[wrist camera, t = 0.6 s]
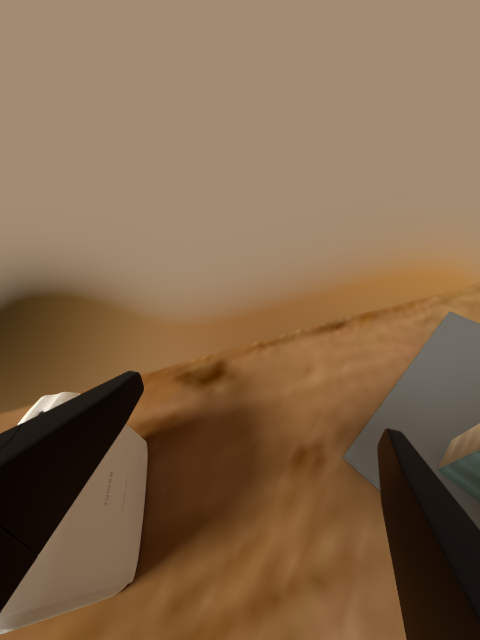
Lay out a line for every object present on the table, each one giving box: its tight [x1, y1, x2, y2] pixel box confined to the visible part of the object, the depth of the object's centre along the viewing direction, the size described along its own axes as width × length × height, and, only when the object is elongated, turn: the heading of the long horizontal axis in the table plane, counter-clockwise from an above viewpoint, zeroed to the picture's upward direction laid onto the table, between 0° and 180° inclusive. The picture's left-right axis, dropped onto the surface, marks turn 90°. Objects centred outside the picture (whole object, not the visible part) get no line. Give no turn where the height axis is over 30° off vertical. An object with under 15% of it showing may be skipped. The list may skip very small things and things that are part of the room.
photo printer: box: [0, 392, 148, 634], centre depth 15 cm, size 10×4×12 cm, turn 10°
